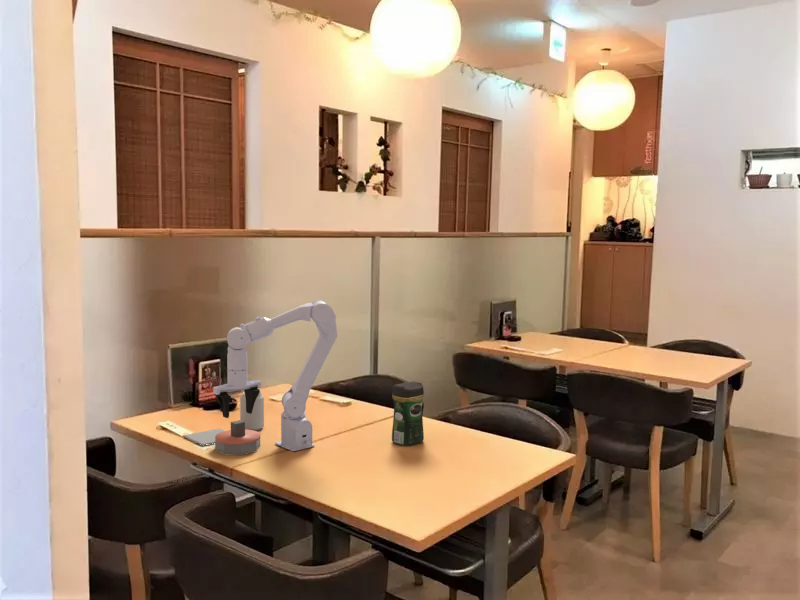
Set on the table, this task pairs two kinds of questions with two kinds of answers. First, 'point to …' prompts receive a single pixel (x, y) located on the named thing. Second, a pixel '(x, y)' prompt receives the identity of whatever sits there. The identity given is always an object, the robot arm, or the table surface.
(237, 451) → the bowl
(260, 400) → the can
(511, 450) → the table surface
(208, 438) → the mat
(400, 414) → the coffee jar
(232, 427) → the lid
